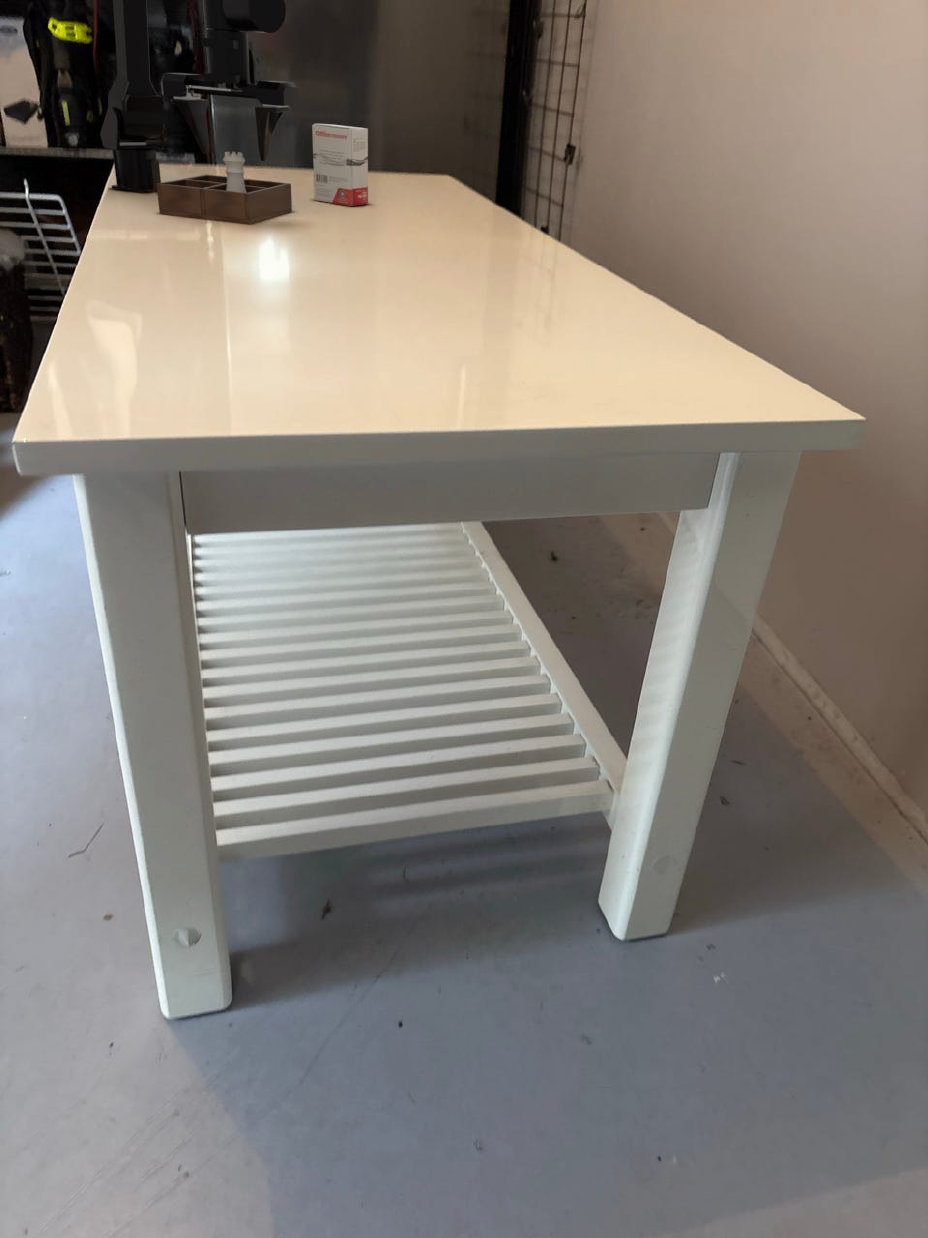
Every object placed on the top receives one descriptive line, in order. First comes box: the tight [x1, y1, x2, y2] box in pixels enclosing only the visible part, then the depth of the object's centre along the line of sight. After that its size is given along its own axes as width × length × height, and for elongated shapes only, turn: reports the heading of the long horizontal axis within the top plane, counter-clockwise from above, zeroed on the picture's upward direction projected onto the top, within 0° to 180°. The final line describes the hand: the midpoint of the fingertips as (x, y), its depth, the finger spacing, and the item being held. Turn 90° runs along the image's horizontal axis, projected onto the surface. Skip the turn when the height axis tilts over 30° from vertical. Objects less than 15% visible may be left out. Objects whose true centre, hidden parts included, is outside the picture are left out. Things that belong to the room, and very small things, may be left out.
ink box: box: [311, 123, 369, 207], centre depth 153 cm, size 9×5×12 cm, turn 58°
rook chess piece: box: [222, 151, 247, 193], centre depth 134 cm, size 4×4×8 cm
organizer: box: [156, 174, 293, 225], centre depth 139 cm, size 15×15×4 cm
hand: (234, 157), depth 132 cm, fingers open, 9 cm apart
